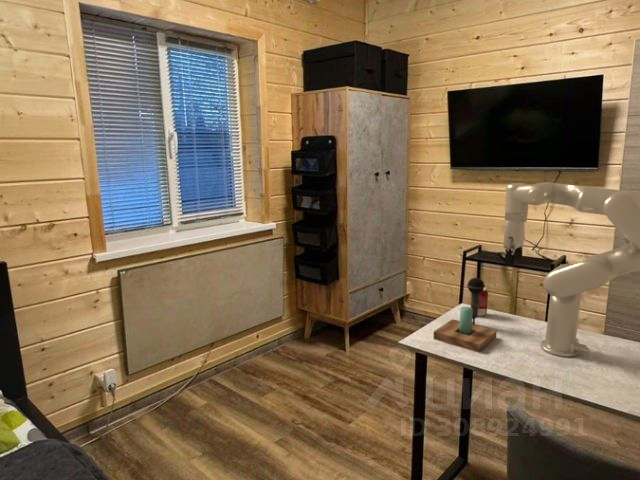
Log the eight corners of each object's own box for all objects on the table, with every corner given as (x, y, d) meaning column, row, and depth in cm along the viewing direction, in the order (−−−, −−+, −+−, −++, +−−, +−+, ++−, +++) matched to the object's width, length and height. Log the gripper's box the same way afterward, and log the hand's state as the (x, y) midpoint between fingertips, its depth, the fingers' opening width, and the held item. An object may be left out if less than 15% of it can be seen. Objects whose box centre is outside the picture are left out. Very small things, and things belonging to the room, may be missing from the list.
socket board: (496, 338, 174) (496, 330, 173) (479, 352, 162) (479, 344, 162) (452, 326, 186) (452, 319, 185) (433, 338, 174) (433, 331, 173)
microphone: (463, 321, 191) (466, 275, 186) (480, 321, 190) (483, 275, 185) (466, 327, 184) (469, 280, 180) (483, 328, 183) (487, 280, 179)
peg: (472, 338, 174) (474, 308, 172) (468, 341, 171) (469, 311, 168) (461, 335, 177) (463, 305, 174) (456, 338, 174) (458, 309, 171)
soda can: (487, 318, 194) (489, 291, 191) (471, 317, 195) (472, 290, 192) (485, 312, 200) (487, 286, 198) (469, 311, 201) (470, 285, 199)
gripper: (512, 213, 176) (510, 256, 179) (497, 219, 163) (495, 265, 166) (533, 214, 171) (530, 258, 174) (519, 221, 158) (517, 268, 161)
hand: (513, 262), depth 170 cm, fingers open, 9 cm apart
